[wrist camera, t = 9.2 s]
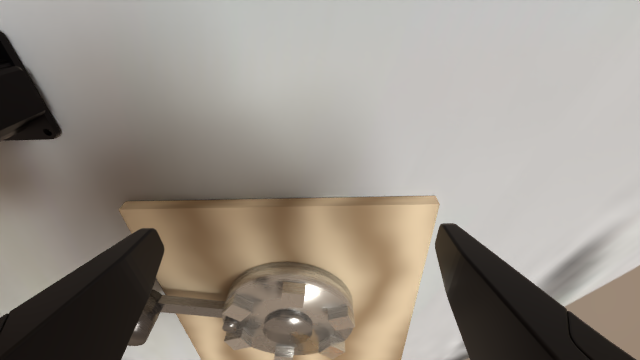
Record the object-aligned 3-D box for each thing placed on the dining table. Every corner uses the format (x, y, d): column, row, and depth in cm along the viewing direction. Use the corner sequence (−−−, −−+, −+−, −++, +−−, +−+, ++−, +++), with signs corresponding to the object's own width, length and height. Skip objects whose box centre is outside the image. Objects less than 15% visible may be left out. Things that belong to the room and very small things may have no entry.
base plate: (156, 352, 36) (148, 369, 35) (49, 202, 23) (27, 219, 21) (398, 352, 35) (402, 370, 34) (435, 195, 22) (444, 213, 20)
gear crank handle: (365, 270, 25) (371, 318, 22) (340, 340, 32) (342, 386, 28) (121, 243, 24) (84, 290, 20) (148, 322, 31) (124, 368, 27)
